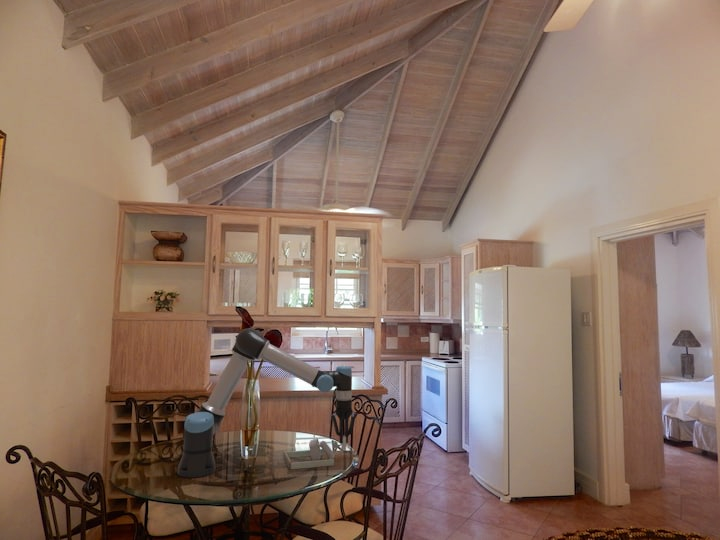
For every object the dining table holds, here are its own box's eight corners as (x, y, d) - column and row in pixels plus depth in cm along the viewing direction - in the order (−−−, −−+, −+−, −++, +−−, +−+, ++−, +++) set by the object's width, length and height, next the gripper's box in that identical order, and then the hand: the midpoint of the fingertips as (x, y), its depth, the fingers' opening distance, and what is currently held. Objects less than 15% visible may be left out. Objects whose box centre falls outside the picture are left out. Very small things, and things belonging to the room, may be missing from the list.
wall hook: (335, 461, 200) (330, 439, 201) (313, 466, 200) (308, 444, 201) (336, 455, 208) (331, 434, 209) (315, 460, 208) (310, 439, 209)
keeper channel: (289, 469, 189) (289, 462, 190) (283, 457, 206) (283, 450, 206) (333, 465, 195) (334, 458, 196) (324, 454, 212) (324, 447, 212)
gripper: (332, 401, 205) (332, 453, 202) (359, 399, 209) (359, 451, 206) (328, 398, 212) (328, 449, 209) (354, 397, 216) (354, 446, 213)
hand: (343, 450), depth 207 cm, fingers closed
